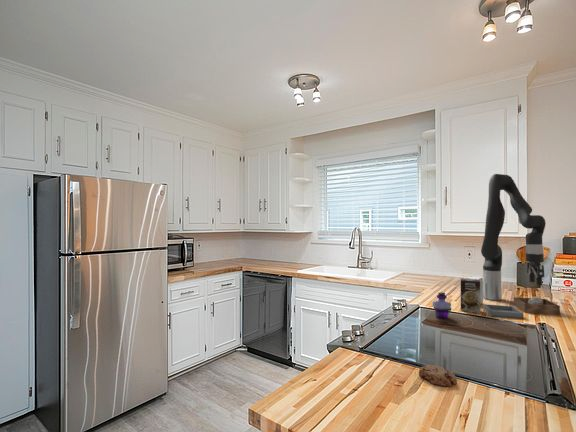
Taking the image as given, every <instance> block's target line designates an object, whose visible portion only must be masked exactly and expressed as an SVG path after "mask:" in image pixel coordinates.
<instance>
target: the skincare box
mask: <svg viewBox="0 0 576 432" xmlns="http://www.w3.org/2000/svg"><path fill="white" fill-rule="evenodd" d="M466 279H471V280H480V305H482V304H483V303H484V298H483V277H479V276H473V275H472V276H470V277H466Z"/></svg>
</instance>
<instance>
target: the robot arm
mask: <svg viewBox="0 0 576 432" xmlns="http://www.w3.org/2000/svg"><path fill="white" fill-rule="evenodd" d="M501 191H504V192H505V193H506V194H507V195H508V196H509V203H510V205H511V207H512V208H513V210H514V212H515V214H517V216H518V219H519V221H520V225H521V226H522V227H524V228H525V229H532V230H531V232H529V233H526V235H525V261H526V273H527V274H528V277H529V282H530V283H536V285H537V286H542V285H543V278H545V267H544V265H541V263H544V261H545V257H544V256H545V255H544V246H543V245H544V244H543V236H544V232H545V230H546V219H545V218H544V216H542V215H540V214H537V215H536V214H533V215H531V213H532V212H533V207H532V206H531V205H530V204H529V203H528V202H527V200H526V199H525V198H524V197H523V195H522V194H521V192H520V190H519V188H518V187H517V185H516V183H515V180H514V179H513V177H511V176H510V175H509V174H501V173H494V174H492V175H491V176H490V178H489V180H488V202H487V209H486V217H485V228H484V237H483V241H482V244H481V245H482V246H481V249H480V250H481V251H480V253H481V255H482V257H483V258H484V262H483V265H482V269H483V270H482V278H483V299H484V300H490V301H502V295H503V294H502V265H503V251H502V247H501V246H500V245H499V243H498V242H499V237H500V234H501V231H502V229H503V227H504V223H505V217H506V216H505V215H506V210H505V208H504V206H503V203H502V200H501ZM535 277H536V279H535ZM535 281H536V282H535Z"/></svg>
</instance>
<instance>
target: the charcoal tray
mask: <svg viewBox="0 0 576 432" xmlns="http://www.w3.org/2000/svg"><path fill="white" fill-rule="evenodd" d="M482 304H483V303H482ZM482 308H483V311H485V312H486V313H487V314H488V315H489V316H490V317H495V318H506V319H507V318H510V319H524V312H523V311H522V310H520V309H519V308H517V307H516V306H514V305H512V306H511V305H499V304H485V303H484V304H483V307H482Z"/></svg>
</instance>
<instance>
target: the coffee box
mask: <svg viewBox="0 0 576 432" xmlns="http://www.w3.org/2000/svg"><path fill="white" fill-rule="evenodd" d="M459 280H460V282H459V283H460V311H461V312H468V313H476V314H477V313H478V314H481V304H480V280H471V279H467V278H460V279H459Z"/></svg>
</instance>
